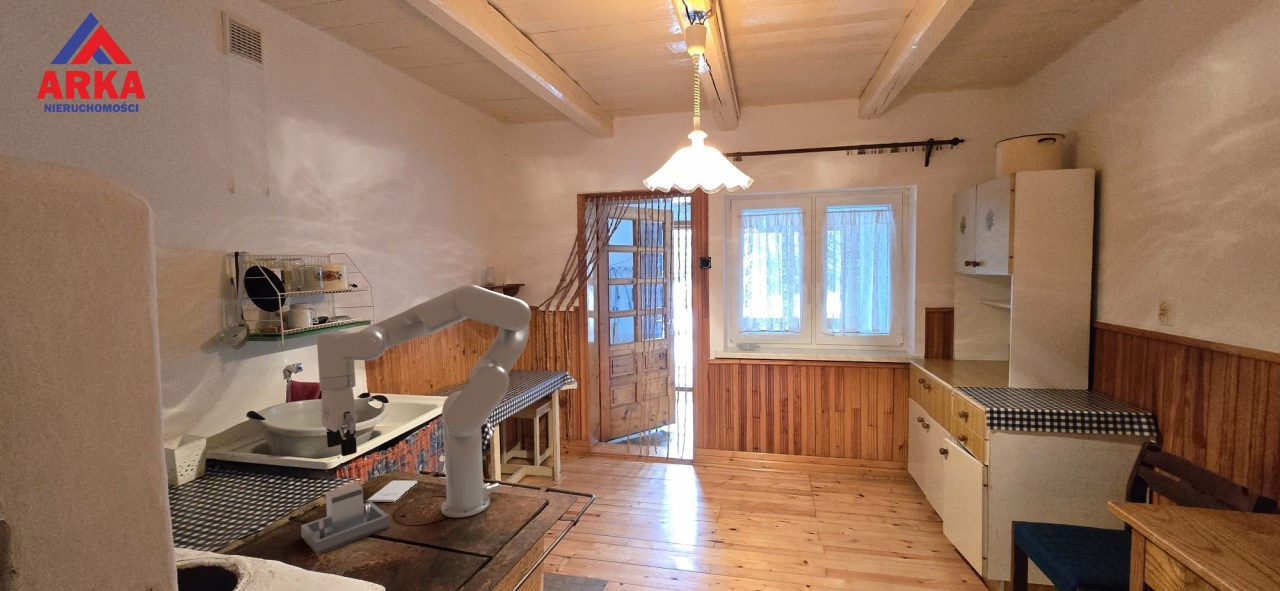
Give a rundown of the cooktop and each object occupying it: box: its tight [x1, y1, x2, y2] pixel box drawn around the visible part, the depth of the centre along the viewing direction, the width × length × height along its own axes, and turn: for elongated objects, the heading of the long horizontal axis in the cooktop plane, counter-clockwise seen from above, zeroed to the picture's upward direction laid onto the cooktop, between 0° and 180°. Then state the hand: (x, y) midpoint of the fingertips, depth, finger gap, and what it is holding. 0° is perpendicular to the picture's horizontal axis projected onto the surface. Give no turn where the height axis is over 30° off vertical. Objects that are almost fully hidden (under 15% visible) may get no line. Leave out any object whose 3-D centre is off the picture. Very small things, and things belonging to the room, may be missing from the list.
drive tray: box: [300, 502, 391, 556], centre depth 124 cm, size 16×12×5 cm
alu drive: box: [325, 482, 364, 535], centre depth 124 cm, size 7×4×10 cm, turn 138°
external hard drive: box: [366, 480, 418, 503], centre depth 146 cm, size 2×8×12 cm
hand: (341, 450), depth 124 cm, fingers open, 9 cm apart
